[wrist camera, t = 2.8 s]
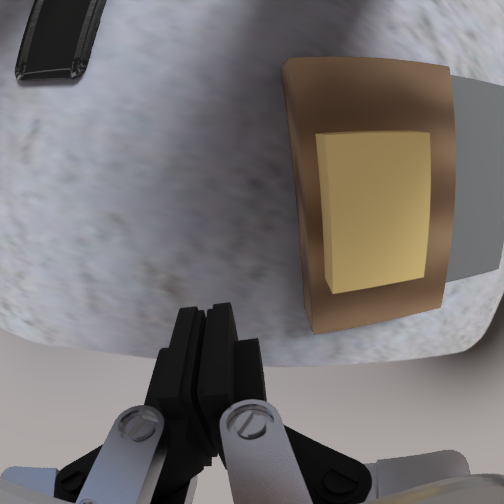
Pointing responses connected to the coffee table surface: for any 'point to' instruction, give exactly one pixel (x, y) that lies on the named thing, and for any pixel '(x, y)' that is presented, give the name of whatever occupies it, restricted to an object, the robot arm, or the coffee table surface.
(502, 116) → the mat
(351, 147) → the tile
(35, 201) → the coffee table surface
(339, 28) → the coffee table surface
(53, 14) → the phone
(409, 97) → the brown wooden block
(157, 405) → the robot arm
